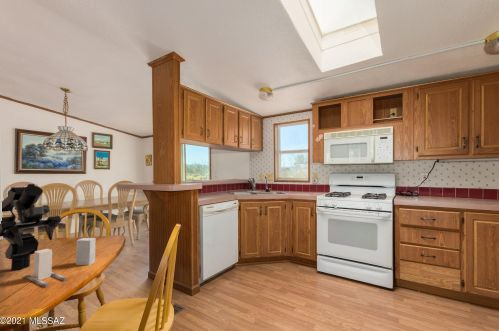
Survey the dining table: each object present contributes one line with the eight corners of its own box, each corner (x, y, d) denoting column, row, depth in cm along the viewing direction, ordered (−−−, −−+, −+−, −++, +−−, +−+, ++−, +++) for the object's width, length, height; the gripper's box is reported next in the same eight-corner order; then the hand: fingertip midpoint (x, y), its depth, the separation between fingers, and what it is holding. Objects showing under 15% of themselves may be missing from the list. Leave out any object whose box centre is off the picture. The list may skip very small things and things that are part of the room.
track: (23, 280, 89) (23, 274, 89) (45, 274, 96) (46, 268, 96) (44, 291, 81) (44, 285, 82) (67, 283, 88) (67, 277, 88)
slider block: (33, 278, 89) (34, 251, 89) (46, 274, 92) (47, 248, 93) (38, 280, 87) (39, 253, 87) (51, 276, 91) (52, 250, 91)
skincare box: (95, 264, 106) (96, 237, 107) (89, 268, 102) (90, 240, 103) (81, 264, 106) (82, 237, 107) (75, 268, 102) (76, 240, 102)
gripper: (2, 201, 87) (12, 236, 82) (60, 197, 104) (72, 226, 99) (-8, 219, 91) (1, 253, 86) (50, 212, 107) (61, 241, 102)
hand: (37, 242), depth 93 cm, fingers open, 9 cm apart
